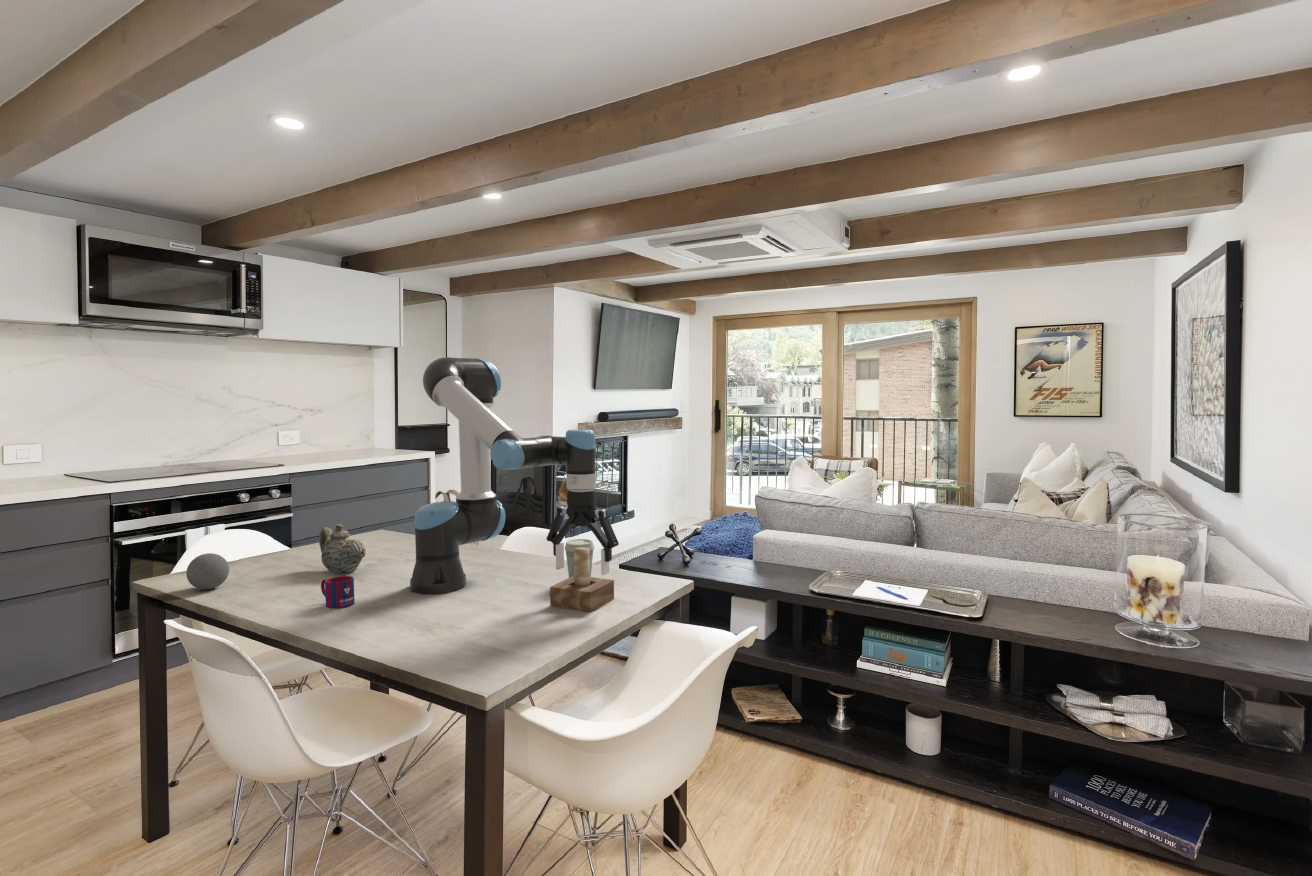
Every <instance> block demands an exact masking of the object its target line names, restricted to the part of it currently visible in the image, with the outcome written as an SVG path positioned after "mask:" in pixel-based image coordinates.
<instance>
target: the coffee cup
mask: <svg viewBox="0 0 1312 876" xmlns="http://www.w3.org/2000/svg"><path fill="white" fill-rule="evenodd" d="M581 547H585V548H589V549H590V577H592V568H593V567H592V566H593V558H594V557H593V556H594V549H595V545H594V542H593V540H592V539H588V538H585V539H584V538H581V539H580V538H575V539H571V540H569V539H568V540H567V541H566V543H565V545H564V551H565V555H566V556H565V558H566V564H567V573H568V578H570V577H572V576H574V549H575V548H581Z"/></svg>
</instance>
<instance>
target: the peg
mask: <svg viewBox="0 0 1312 876" xmlns="http://www.w3.org/2000/svg"><path fill="white" fill-rule="evenodd" d="M574 584H575V586H579V587H588V586H590V549H589V548H585V547H581V548H575V549H574Z"/></svg>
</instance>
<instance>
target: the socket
mask: <svg viewBox="0 0 1312 876" xmlns="http://www.w3.org/2000/svg"><path fill="white" fill-rule="evenodd" d="M549 597H550V598H549V600H550V601H549V603H550V604H549V605H550V607H554V608H561V609H568V610H574V611H582V612H587V613H593V612H595V610H597V609H599V608H601V607H602V606H604V605H606V604H607V603H609V602H611V601H612V600H614V599H615V580H614V579H608V578H601V577H592V576H591V577H590V586H588V587H579V586H575V584H574V576H572V577H570V578H569V577H568V578H566V579H564V580H562V581H559V582H557V583H555V584H553V585H550V586H549Z"/></svg>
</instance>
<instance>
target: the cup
mask: <svg viewBox="0 0 1312 876" xmlns="http://www.w3.org/2000/svg"><path fill="white" fill-rule="evenodd" d="M354 579H355V577H354V576H352V575H338V576H333V577H329V578H323V579H322V580H321V583H320V590H321V592H322V595H323V596H324V598H325V608H327V609H329V610H340V609H346V608H348V607H352V606H353V605H355V580H354Z"/></svg>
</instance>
